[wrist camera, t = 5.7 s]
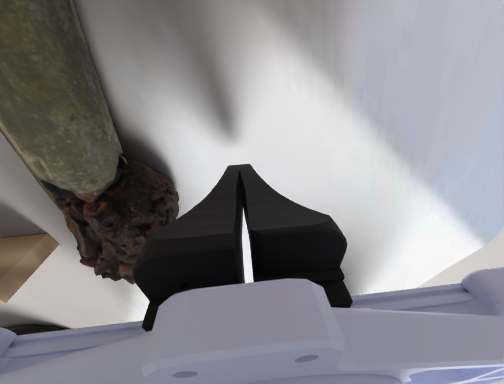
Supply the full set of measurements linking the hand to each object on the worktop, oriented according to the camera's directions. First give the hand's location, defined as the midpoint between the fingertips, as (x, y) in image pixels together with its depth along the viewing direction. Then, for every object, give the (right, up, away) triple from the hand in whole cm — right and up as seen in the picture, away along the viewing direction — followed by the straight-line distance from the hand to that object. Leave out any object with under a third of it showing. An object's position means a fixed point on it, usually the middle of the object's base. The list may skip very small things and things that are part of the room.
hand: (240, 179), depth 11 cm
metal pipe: (-8, +2, +2) cm, 9 cm away
